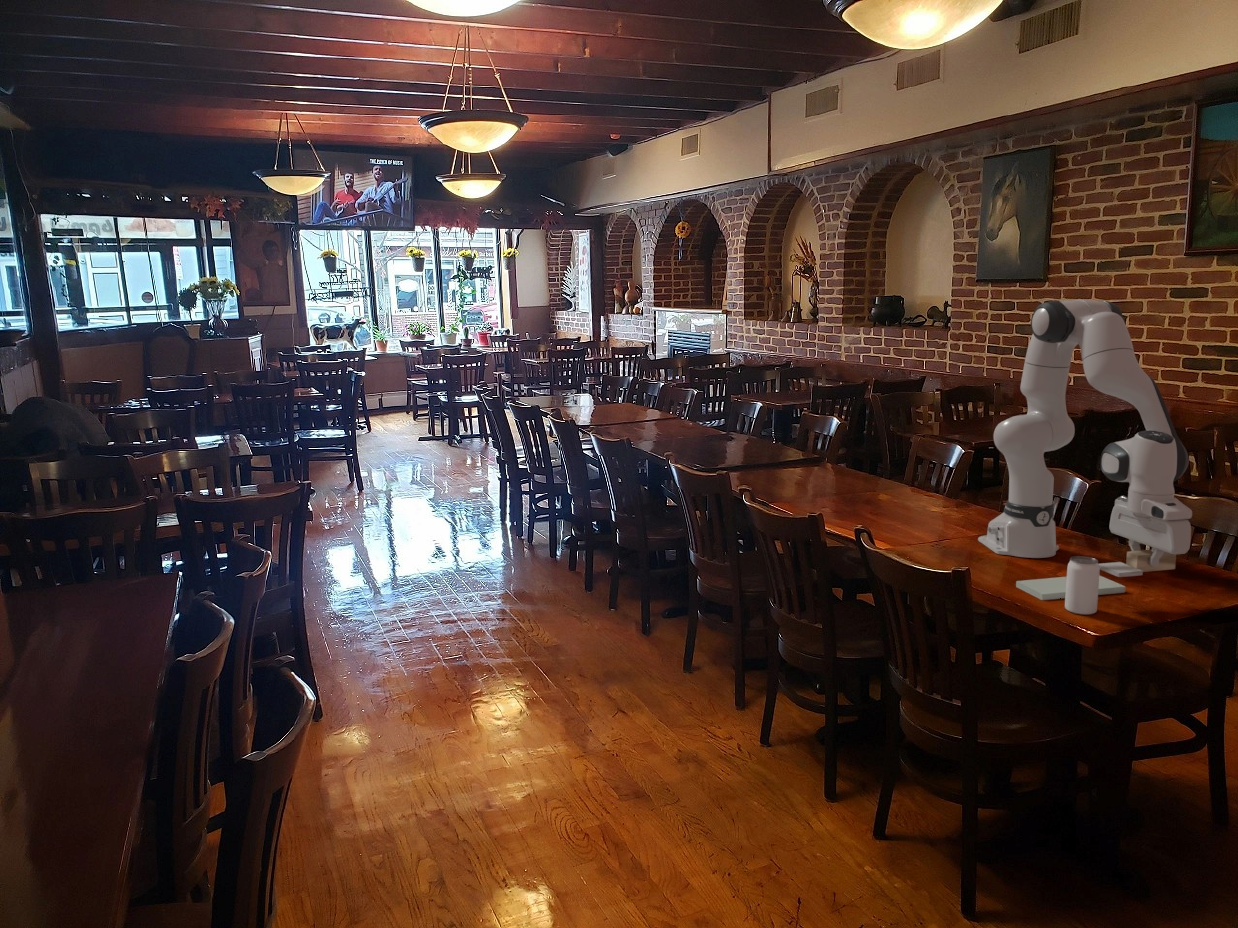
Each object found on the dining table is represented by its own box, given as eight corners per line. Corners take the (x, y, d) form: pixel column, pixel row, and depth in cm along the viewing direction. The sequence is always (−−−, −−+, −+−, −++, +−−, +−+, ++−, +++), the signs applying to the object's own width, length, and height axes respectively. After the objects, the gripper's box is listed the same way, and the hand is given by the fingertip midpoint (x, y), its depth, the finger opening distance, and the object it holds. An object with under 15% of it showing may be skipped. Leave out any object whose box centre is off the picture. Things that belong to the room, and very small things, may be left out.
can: (1100, 616, 193) (1104, 564, 191) (1069, 614, 194) (1072, 563, 192) (1091, 606, 199) (1094, 556, 197) (1060, 604, 200) (1064, 555, 198)
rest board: (1016, 586, 213) (1016, 581, 213) (1095, 579, 217) (1096, 573, 217) (1042, 600, 204) (1042, 594, 203) (1124, 592, 207) (1125, 586, 207)
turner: (1096, 567, 199) (1097, 551, 199) (1157, 562, 202) (1159, 546, 201) (1118, 577, 193) (1120, 559, 192) (1181, 571, 195) (1183, 554, 194)
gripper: (1104, 494, 204) (1100, 550, 207) (1173, 514, 184) (1167, 576, 187) (1128, 493, 205) (1123, 548, 208) (1198, 512, 185) (1193, 574, 188)
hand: (1145, 562), depth 197 cm, fingers closed on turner, 3 cm apart
